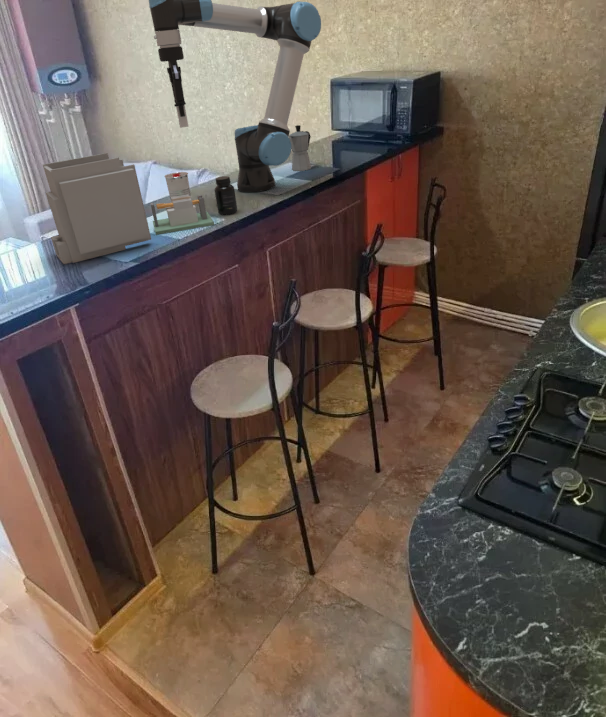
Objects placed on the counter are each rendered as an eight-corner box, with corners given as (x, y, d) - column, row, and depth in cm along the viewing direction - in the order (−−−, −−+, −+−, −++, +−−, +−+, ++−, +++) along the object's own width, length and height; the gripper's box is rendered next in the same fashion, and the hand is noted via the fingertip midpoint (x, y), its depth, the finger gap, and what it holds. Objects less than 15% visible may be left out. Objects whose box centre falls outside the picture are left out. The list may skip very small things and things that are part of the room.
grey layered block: (54, 252, 178) (26, 166, 165) (137, 232, 189) (117, 149, 176) (66, 267, 165) (37, 174, 152) (154, 244, 176) (134, 156, 163)
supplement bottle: (216, 212, 202) (210, 177, 196) (234, 208, 204) (229, 174, 198) (221, 216, 196) (215, 181, 190) (240, 213, 198) (235, 177, 192)
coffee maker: (302, 172, 245) (298, 128, 236) (285, 172, 250) (280, 128, 241) (320, 165, 256) (317, 121, 247) (303, 164, 260) (299, 122, 251)
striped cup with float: (188, 211, 206) (181, 177, 200) (166, 212, 208) (159, 178, 202) (198, 203, 215) (192, 171, 209) (177, 204, 216) (170, 172, 210)
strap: (202, 201, 192) (201, 196, 192) (203, 203, 189) (203, 199, 189) (156, 206, 189) (155, 202, 188) (157, 209, 186) (156, 204, 185)
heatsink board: (207, 214, 200) (203, 190, 196) (214, 224, 188) (209, 199, 184) (153, 223, 196) (147, 199, 192) (155, 234, 184) (150, 208, 180)
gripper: (156, 47, 184) (171, 126, 195) (159, 47, 173) (174, 130, 184) (179, 45, 185) (192, 123, 197) (184, 45, 174) (197, 127, 186)
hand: (184, 126), depth 191 cm, fingers closed
